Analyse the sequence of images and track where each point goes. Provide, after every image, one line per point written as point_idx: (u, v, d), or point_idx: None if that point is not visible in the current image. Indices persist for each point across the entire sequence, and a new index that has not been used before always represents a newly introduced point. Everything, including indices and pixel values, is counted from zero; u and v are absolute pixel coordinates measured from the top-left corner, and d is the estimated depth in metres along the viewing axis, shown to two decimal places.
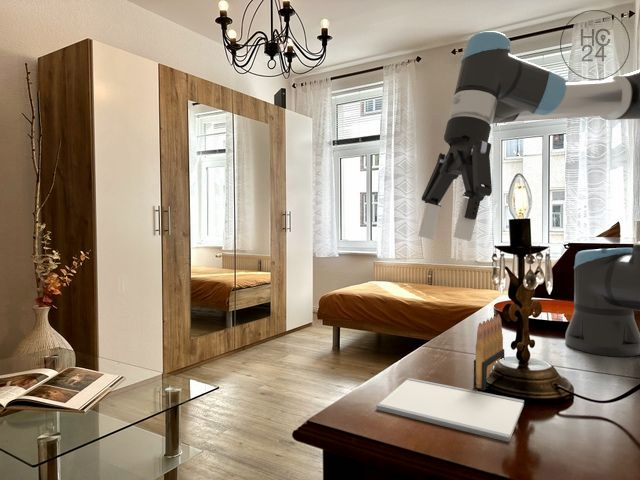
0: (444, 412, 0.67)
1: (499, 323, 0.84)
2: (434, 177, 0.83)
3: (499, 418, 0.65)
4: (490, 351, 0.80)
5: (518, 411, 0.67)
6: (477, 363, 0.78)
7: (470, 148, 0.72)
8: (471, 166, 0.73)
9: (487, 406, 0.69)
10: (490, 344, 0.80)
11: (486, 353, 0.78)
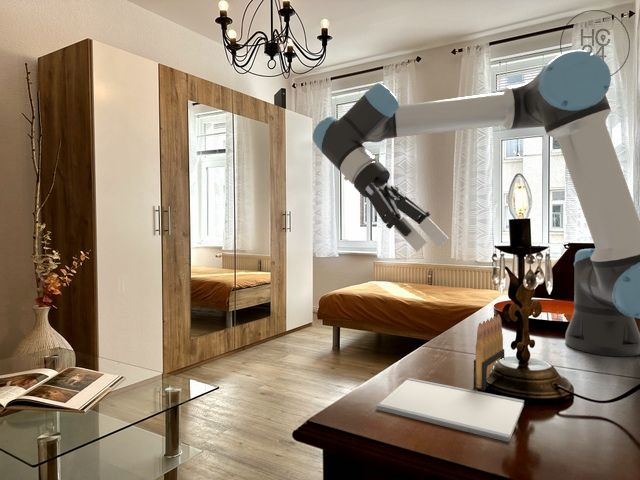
0: (444, 412, 0.67)
1: (499, 323, 0.84)
2: None
3: (499, 418, 0.65)
4: (490, 351, 0.80)
5: (518, 411, 0.67)
6: (477, 363, 0.78)
7: None
8: None
9: (487, 406, 0.69)
10: (490, 344, 0.80)
11: (486, 353, 0.78)
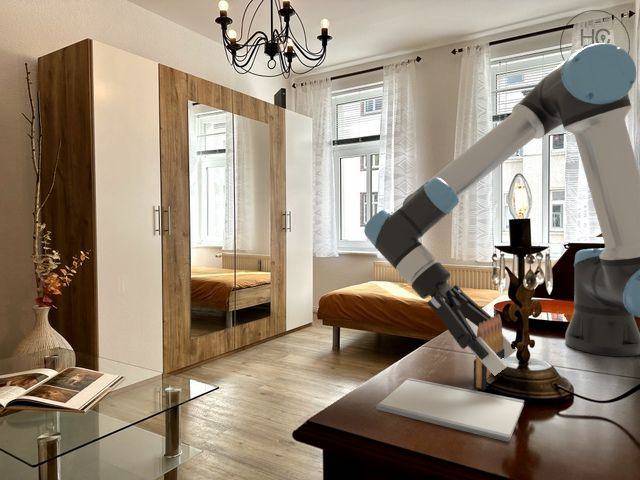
0: (444, 412, 0.67)
1: (499, 323, 0.84)
2: None
3: (499, 418, 0.65)
4: None
5: (518, 411, 0.67)
6: (477, 363, 0.78)
7: None
8: None
9: (487, 406, 0.69)
10: (490, 344, 0.80)
11: None
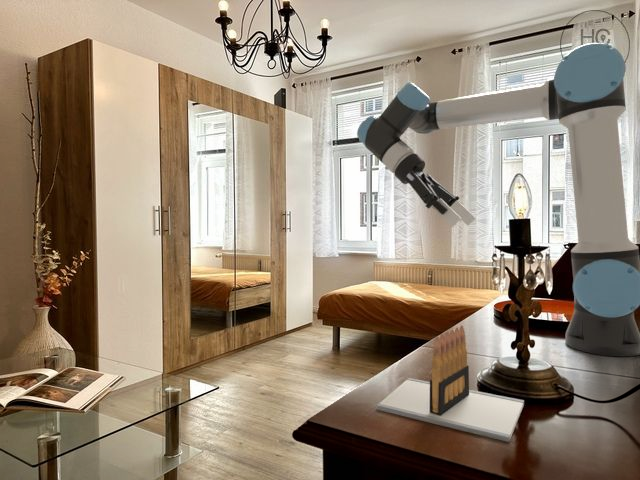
0: None
1: (462, 336, 0.73)
2: None
3: (499, 418, 0.65)
4: (449, 369, 0.69)
5: (518, 411, 0.67)
6: (433, 383, 0.67)
7: None
8: None
9: (487, 406, 0.69)
10: (450, 361, 0.69)
11: (444, 372, 0.67)
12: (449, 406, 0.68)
